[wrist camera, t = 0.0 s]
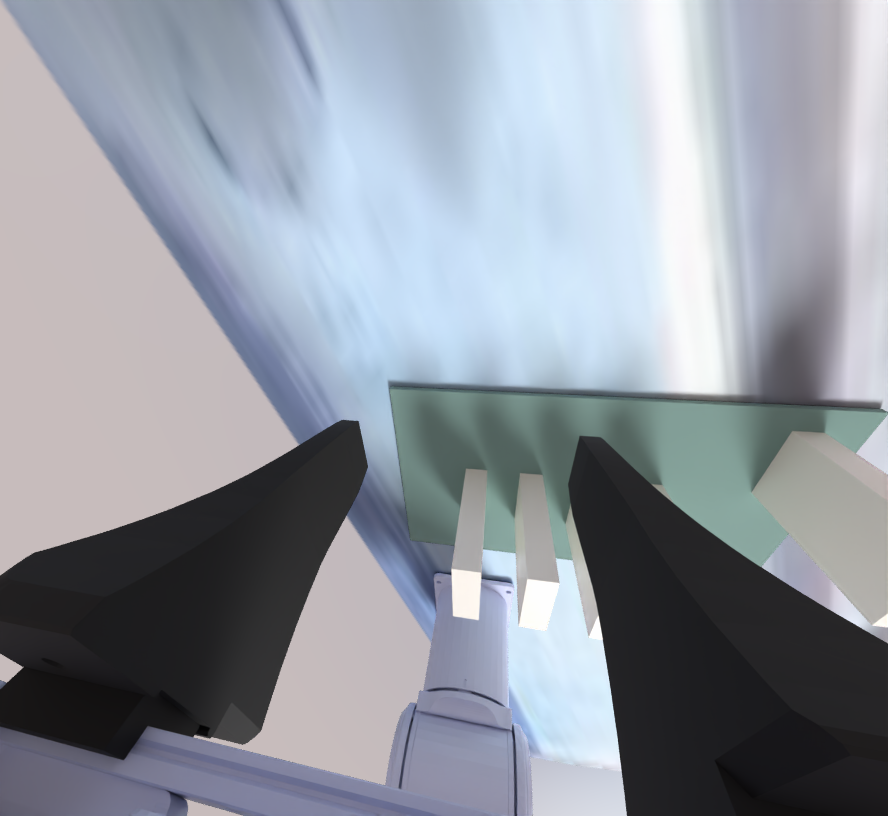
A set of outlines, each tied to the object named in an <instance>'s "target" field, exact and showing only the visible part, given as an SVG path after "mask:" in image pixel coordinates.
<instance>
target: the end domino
mask: <svg viewBox="0 0 888 816" xmlns="http://www.w3.org/2000/svg"><path fill="white" fill-rule="evenodd" d="M486 486H487V470H478V469H466V472H465V479H464V486H463V493H462V500H461V506H460V513H459V520H458V527H457V534H456V541H455V548H454V554H453V561H452V568H451V572H452V602H453V616H455V617H462V618H468V619H474V620H479V608H480V591H481V574H482V557H483V540H484V523H485V505H486Z"/></svg>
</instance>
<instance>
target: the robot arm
mask: <svg viewBox="0 0 888 816" xmlns="http://www.w3.org/2000/svg"><path fill="white" fill-rule="evenodd" d="M367 468H368V465H367V460H366V455H365V450H364V445H363V440H362V436H361V431H360V426H359V421H349V420H341V421H339V422H337V423H335V424H333V425H332V426H330V427H328V428H327V429H325V430H323V431H322V432H320V433H318V434H317V435H315V436H314V437H312V438H310V439H309V440H307V441H306V442H304V443H302V444H301V445H299V446H297V447H296V448H294V449H293V450H291V451H289V452H288V453H286V454H284V455H282V456H281V457H279V458H277V459H276V460H274V461H272V462H270V463H268V464H266V465H265V466H263V467H261V468H259V469H258V470H256V471H254V472H252V473H250V474H248V475H246V476H244V477H242V478H240V479H238V480H236V481H234V482H232V483H230V484H228V485H226V486H224V487H221V488H219V489H217V490H215V491H213V492H211V493H208V494H206V495H203V496H201V497H199V498H196V499H194V500H191V501H189V502H186V503H184V504H182V505H179V506H177V507H174V508H172V509H169V510H167V511H164V512H161V513H158V514H156V515H153V516H150V517H148V518H145V519H142V520H139V521H136V522H133V523H130V524H127V525H125V526H122V527H119V528H116V529H113V530H110V531H106V532H103V533H100V534H97V535H93V536H90V537H87V538H83V539H80V540H77V541H73V542H70V543H67V544H63V545H60V546H57V547H54V548H50V549H46V550H43V551H39V552H35V553H33V554H32V555H30V556H28V557H26V558H25V559H23V560H22V561H20V562H19V563H17V564H16V565H14V566H13V567H12V568H10V569H9V570H7V571H6V572H5V573H3V574H2V575H0V654H2V655H4V656H5V657H7V658H9V659H10V660H12V661H14V662H16V663H17V664H19V665H21V666H22V667H23V668H22V669H21V670H20V671H19V672H18V673H17V674H16V675H15V676H14V677H13V678H12V679H11V680H10V681H9V682H7V683H6V682H4V681H1V680H0V816H187V812H188V805H187V801H186V800H185V799H187V800H191V801H194V802H198V803H201V804H205V805H208V806H212V807H215V808H219V809H223V810H226V811H229V812H233V813H236V814H240V815H243V816H533V807H532V806H533V805H532V779H531V764H530V752H529V745H528V740H527V737H526V735H525V734H524V732H523V731H522V729H521V726H520V725H519V724H515V723H513V724H512V709H511V708H509V692H508V627H509V620H510V614H511V607H512V601H513V594H514V585H513V584H511V583H507V582H500V581H492V580H485V579H481V591H480V608H479V620H474V619H468V618H462V617H455V616H453V602H452V575H449V574H441V573H436V574H435V575H434V587H435V598H436V610H437V612H436V618H435V624H434V630H433V636H432V642H431V648H430V654H429V660H428V666H427V672H426V678H425V684H424V690H423V691H419V695H418V701H417V703H410V704H409V705H408V707H407V708H406V709H405V710H404V711H403V712H402V714H401V716H400V718H399V721H398V724H397V728H396V732H395V736H394V740H393V744H392V749H391V754H390V759H389V765H388V771H387V777H386V785H381V784H377V783H373V782H369V781H365V780H361V779H357V778H353V777H349V776H345V775H341V774H337V773H333V772H329V771H325V770H321V769H317V768H313V767H309V766H305V765H301V764H297V763H293V762H289V761H285V760H281V759H277V758H273V757H269V756H265V755H261V754H257V753H253V752H249V751H245V750H241V749H237V748H233V747H229V746H225V745H221V744H217V743H213V742H209V741H205V740H201V739H197V738H193V737H194V735H197V736H202V737H206V738H211V737H214V738H218V739H222V740H226V741H230V742H234V743H238V744H242V745H243V744H246V743H248V742H249V741H250V740H252V739H253V738H254V737H255V736H256V735H257V734H258V733H259V732H260V731H261V730H262V726H263V723H264V720H265V716H266V713H267V710H268V707H269V704H270V701H271V698H272V695H273V692H274V689H275V685H276V682H277V679H278V676H279V673H280V670H281V667H282V664H283V661H284V659H285V656H286V653H287V650H288V647H289V645H290V642H291V639H292V636H293V633H294V631H295V628H296V625H297V623H298V620H299V617H300V615H301V612H302V610H303V607H304V604H305V602H306V599H307V597H308V594H309V591H310V589H311V587H312V585H313V582H314V580H315V577H316V575H317V573H318V570H319V568H320V565H321V563H322V561H323V559H324V557H325V555H326V553H327V551H328V549H329V547H330V545H331V543H332V541H333V540H334V538H335V536H336V534H337V532H338V530H339V528H340V526H341V524H342V523H343V521H344V519H345V517H346V515H347V513H348V512H349V510H350V508H351V506H352V504H353V502H354V500H355V498H356V496H357V494H358V492H359V490H360V487H361V485H362V482H363V479H364V476H365V474H366V471H367ZM568 488H569V496H570V503H571V510H572V515H573V519H574V523H575V527H576V530H577V534H578V537H579V541H580V545H581V548H582V552H583V555H584V559H585V562H586V566H587V569H588V573H589V577H590V580H591V584H592V587H593V592H594V596H595V600H596V605H597V610H598V616H599V621H600V627H601V633H602V638H603V644H604V650H605V656H606V663H607V669H608V675H609V681H610V688H611V695H612V702H613V709H614V716H615V723H616V730H617V737H618V745H619V753H620V761H621V769H622V777H623V785H624V792H625V801H626V811H627V816H888V643H886V642H884V641H883V640H881V639H879V638H877V637H875V636H874V635H872V634H870V633H869V632H867V631H865V630H863V629H862V628H860V627H858V626H856V625H855V624H853V623H851V622H850V621H848V620H846V619H844V618H843V617H841V616H839V615H837V614H836V613H834V612H832V611H831V610H829V609H827V608H825V607H824V606H822V605H820V604H819V603H817V602H816V601H814V600H812V599H811V598H809V597H807V596H806V595H804V594H802V593H801V592H799V591H797V590H796V589H794V588H793V587H791V586H789V585H788V584H786V583H785V582H783V581H782V580H780V579H779V578H777V577H775V576H774V575H772V574H771V573H769V572H768V571H766V570H765V569H763V568H762V567H760V566H758V565H757V564H755V563H754V562H752V561H751V560H749V559H748V558H746V557H745V556H743V555H742V554H741V553H739V552H738V551H736V550H735V549H733V548H732V547H730V546H729V545H728V544H726V543H725V542H724V541H722V540H721V539H719V538H718V537H717V536H715V535H714V534H713V533H711V532H710V531H708V530H707V529H706V528H704V527H703V526H702V525H700V524H699V523H698V522H696V521H695V520H694V519H692V518H691V517H690V516H689V515H687V514H686V513H685V512H684V511H683V510H681V509H680V508H679V507H678V506H676V505H675V504H674V503H673V502H672V501H670V500H669V499H668V498H667V497H666V496H664V495H663V494H662V493H661V492H660V491H659V490H657V489H656V488H655V487H654V486H653V485H652V484H651V483H649V482H648V481H647V480H646V479H645V478H644V477H643V476H642V475H641V474H640V473H639V472H637V471H636V470H635V469H634V468H633V467H632V466H631V465H630V464H629V463H628V462H627V461H626V460H625V459H624V458H623V457H622V456H621V455H619V454H618V453H617V452H616V451H615V450H614V449H613V448H612V447H611V446H610V445H609V444H608V443H607V442H606V441H605V440H604V439H602V438H601V437H593V436H579V440H578V445H577V449H576V453H575V457H574V461H573V465H572V470H571V474H570V478H569V482H568Z"/></svg>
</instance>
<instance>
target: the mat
mask: <svg viewBox="0 0 888 816" xmlns="http://www.w3.org/2000/svg"><path fill="white" fill-rule="evenodd" d="M390 396H391V403H392V410H393V418H394V425H395V432H396V440H397V447H398V454H399V461H400V469H401V476H402V483H403V490H404V498H405V505H406V512H407V520H408V527H409V534H410V540H412V541H420V542H428V543H436V544H445V545H453V546H455V541H456V534H457V527H458V520H459V513H460V506H461V500H462V493H463V486H464V479H465V472H466V469H478V470H487V486H486V505H485V523H484V540H483V549H485V550H493V551H501V552H510V553H516V546H515V521H514V518H515V510H516V502H517V494H518V486H519V478H520V473H525V474H537V475H543V481H544V487H545V494H546V500H547V506H548V513H549V519H550V526H551V532H552V538H553V545H554V551H555V558H558V559H567V560H573V559H572V554H571V549H570V544H569V539H568V534H567V529H566V525H565V524H566V520H567V516H568V512H569V508H570V504H571V503H570V496H569V488H568V482H569V478H570V474H571V470H572V465H573V461H574V457H575V453H576V449H577V445H578V440H579V436H593V437H601V438H602V439H604V440H605V441H606V442H607V443H608V444H609V445H610V446H611V447H612V448H613V449H614V450H615V451H616V452H617V453H618V454H619V455H621V456H622V457H623V458H624V459H625V460H626V461H627V462H628V463H629V464H630V465H631V466H632V467H633V468H634V469H635V470H636V471H637V472H639V473H640V474H641V475H642V476H643V477H644V478H645V479H646V480H647V481H648V482H649V483H651V484H655V485H663V487H664V488H665V490H666V492H667V493H668V495H669V497H670V498H671V500H672V502H673V503H674V504H675V505H676V506H678V507H679V508H680V509H681V510H683V511H684V512H685V513H686V514H687V515H689V516H690V517H691V518H692V519H694V520H695V521H696V522H698V523H699V524H700V525H702V526H703V527H704V528H706V529H707V530H708V531H710V532H711V533H713V534H714V535H715V536H717V537H718V538H719V539H721V540H722V541H724V542H725V543H726V544H728V545H729V546H730V547H732V548H733V549H735V550H736V551H738V552H739V553H741V554H742V555H743V556H745V557H746V558H748V559H749V560H751V561H752V562H754V563H755V564H757V565H758V566H760V567H762V565H763V564H764V563H765V562H766V561H767V559H768V558H769V557H770V556H771V555H772V553H773V552H774V551H775V550H776V549H777V547H778V546H779V545H780V544H781V543H782V541H783V540H784V539H785V538H786V536H787V535H788V532H787V531H786V530H785V529H784V528H783V527H782V526H781V525H780V524H779V522H778V521H777V520H776V519H775V518H774V517H773V516H772V515H771V514H770V513H769V511H768V510H767V509H766V508H765V507H764V506H763V505H762V504H761V503H760V502H759V500H758V499H757V498H756V497H755V496H754V495H753V494H752V493H751V492H752V491H753V489H754V488H755V486H756V485H757V483H758V482H759V480H760V479H761V477H762V476H763V474H764V473H765V471H766V470H767V468H768V467H769V465H770V464H771V462H772V461H773V459H774V458H775V456H776V455H777V453H778V452H779V450H780V449H781V447H782V446H783V444H784V443H785V441H786V440H787V438H788V437H789V435H790V434H791V432H792V431H801V432H819V433H826V434H827V435H829V436H830V437H832V438H833V439H835V440H836V441H838V442H839V443H841V444H842V445H844V446H845V447H847V448H848V449H850V450H851V451H853V452H854V453H856V452H857V451H858V450H859V449H860V447H861V446H862V445H863V444H864V443H865V441H866V440H867V439H868V438H869V437H870V435H871V434H872V433H873V432H874V431H875V429H876V428H877V427H878V426H879V425H880V423H881V422H882V421H883V420H884V419H885V417H886V416H887V415H888V412H887V411H885V410H883V409H870V408H849V407H827V406H805V405H783V404H762V403H740V402H718V401H696V400H675V399H653V398H631V397H609V396H588V395H566V394H544V393H522V392H501V391H479V390H457V389H435V388H414V387H392V386H391V388H390Z"/></svg>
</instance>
